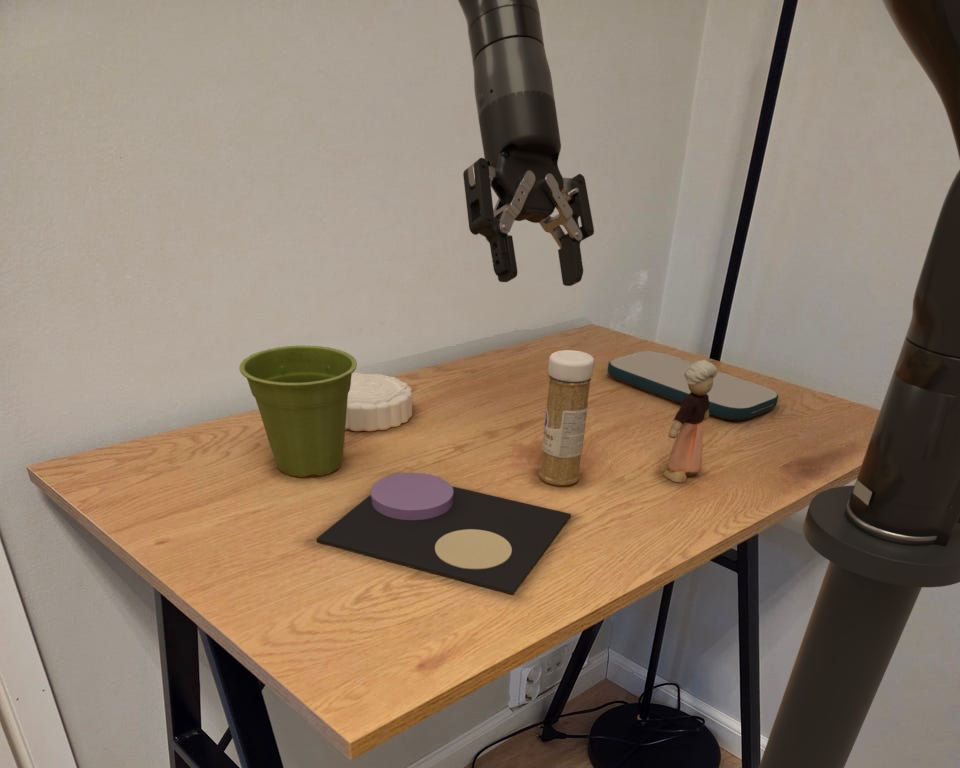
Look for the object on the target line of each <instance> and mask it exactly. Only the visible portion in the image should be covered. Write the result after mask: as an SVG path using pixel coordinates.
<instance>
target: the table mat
mask: <svg viewBox="0 0 960 768" xmlns="http://www.w3.org/2000/svg"><path fill="white" fill-rule="evenodd" d="M451 486H452V485H451ZM452 488H453V492H454V494H453V505H452V507H451V508H450V509H449V510H448V511H447V512H446V513H444V514H442V515H440V516H437V517H434V518H431V519H425V520H400V519H395V518H391V517H388V516H385V515H383V514H381V513H379V512H378V511H376V510H375V509H374V507H373V506H372V503H371V494H369V495H368V496H367V497H366V498H364V499H363V500H362V501H361V502H359V503H358V504H357V505H355V507H353V508H352V509H351V510H349V511H348V512H347V513H346V514H345V515H343V516H342V517H341V518H340V519H338V521H336V522H334V524H332V525H331V526H330V527H328V529H326V530H325V531H324V532H323V533H321V534H320V535H319V536H318V537H316V538H315V539H316V543H318V544H321V545H326V546H329V547H334V548H336V549H341V550H345V551H348V552H352V553H356V554H360V555H363V556H367V557H371V558H375V559H378V560H382V561H385V562H389V563H393V564H396V565H401V566H404V567H408V568H412V569H416V570H419V571H423V572H427V573H430V574H434V575H438V576H441V577H445V578H449V579H454V580H456V581H460V582H462V583H463V582H464V583H467V584H471V585H474V586H479V587H482V588H486V589H489V590H492V591H497V592H501V593H505V594H509V595H511V596H513V595H514V594H515V593H516V592H517V590H518V589H519V587H520V586H521V584H522V583H523V582H524V581H525V579H526V578H527V576H528V575H529V574H530V573H531V571H532V570H533V569H534V567H535V566H536V565H537V563H538V562H539V560H541V558H542V557H543V555H544V554H545V553H546V551H547V550H548V549H549V547H550V546H551V544H552V543H553V542H554V540H555V539H556V538H557V536H558V535H559V534H560V532H561V531H562V530H563V529H564V527H565V525H566V524H567V523H568V522H569V520H570V519H571V518H572V517H571V516H572V513H569V512H565V511H561V510H555V509H551V508H547V507H544V506H539V505H534V504H530V503H526V502H521V501H517V500H513V499H508V498H504V497H500V496H496V495H491V494H487V493H482V492H478V491H474V490H469V489H466V488H461V487H457V486H454V485H453V486H452Z"/></svg>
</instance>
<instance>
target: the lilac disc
mask: <svg viewBox="0 0 960 768" xmlns="http://www.w3.org/2000/svg"><path fill="white" fill-rule="evenodd" d="M453 494H454V492H453V488H452V484H450V482H449V481H447V480H446V479H445V478H442V477H440V476H437V475H433V474H429V473H422V472H400V473H399V472H398V473H395V474H390V475H387V476H383V477H382V478H380V479H378V480H377V481H375V482H374V483H373V484H372V486H371V488H370V495H371V503H372V506H373V507H374V509H375V510H376V511H378V512H379V513H381V514H383V515H385V516H388V517H391V518H395V519H400V520H425V519H431V518H434V517H437V516H440V515H442V514H444V513H446V512H447V511H448V510H449V509H450V508H451V507H452V505H453Z"/></svg>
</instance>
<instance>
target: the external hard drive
mask: <svg viewBox="0 0 960 768" xmlns="http://www.w3.org/2000/svg"><path fill="white" fill-rule="evenodd" d="M694 363H695V362H692V361H690V360H687V359H684V358H681V357H678V356H675V355H672V354H669V353H665V352H662V351H661V352H660V351H655V350H640V351H636V352H632V353H629V354H625V355H622V356H619V357H618V356H617V357H615V358H612V359H610V361H608V364H607V374H608V375H609V376H610V377H611V378H612V379H615V380H616V381H618V382H622V383H625V384H628V385H630V386H633V387H635V388H638V389H641V390H644V391H646V392H649V393H651V394H654V395H657V396H660V397H662V398H665V399H668V400H670V401H673V402H676V403H679V404H681V405H682V402H683V400H684V398H685V397H686V396H687V395H688V394H690V393H691V391H690V390H689V387H688V383H687V381H686V377H685V376H684V373H685V371H687V369H688V367H690V366H691V365H693V364H694ZM707 395H708V397H709V415H711V416H713V417H717V418H721V419H724V420H730V421H745V420H749V419H753V418H754V417H758V416H759V415H762V414H765V413H767V412H770V411H772V410H774V409H775V408H776V406H777V405H778V404H777V403H778V401H779V393H778V392H777V391H775V390H774V389H772V388H770V387H768V386H765V385H763V384H760V383H756V382H754V381H750V380H747V379H744V378H741V377H739V376H736V375H733V374H730V373H726V372H723V371H720V370H717V375H716V376H715V378H713V386H712V389H711V390H710V391H709V392H708V393H707Z"/></svg>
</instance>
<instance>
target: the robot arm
mask: <svg viewBox="0 0 960 768" xmlns="http://www.w3.org/2000/svg"><path fill="white" fill-rule="evenodd" d="M457 1H458V4H459V7H460V9H461V11H462V13H463V15H464V18H465V21H466V25H467V36H468V42H469V43H468V44H469V49H470V55H471V61H472V70H473V91H474V98H475V99H474V100H475V104H476V111H477V112H476V113H477V117H478V118H477V119H478V125H479V131H480V132H479V133H480V137H481V138H480V139H481V143H482V144H481V145H482V150H483V151H482V152H483V157H480V158H478V159H477V160H476V161H475V162H474V163H472V164H471V165H470V166H468V167H467V168H466V169H464V171H463V172H462V173H463V174H462V176H463V185H464V194H465V202H466V212H467V221H468V228H469V231H470V233H471V234H472V235H474V236H477V235H480V236H483V237H485V240H486V242H488V243H489V248H490V249H489V250H490V254H491V259H492V261H491V262H492V267H493V272H494V273H495V276H497V280H498V282H499V283H508V282H510V281H512V280H514V279H515V278H517V276H518V265H517V259H516V252H515V246H514V239H513V235H509V233H510V232H511V230H512V227H513V225H514V223H515V221H516V222H521V221H527V222H529V223H534V224H539V225H540V226H541V228H542V230H543V231H544V232H545V233H549V234H550V235H551V236H552V238H553V240H554V241H555V243H556V244H557V246H558V247H559V249H557V254H558V260H559V267H560V274H561V275H560V276H561V280H562V281H561V282H562V285H563V286H564V287H572V286H574V285H575V284H577V283H580V282H581V281H582V278H583V275H584V266H583V259H582V251H581V242H582V241H585V240H586V239H587V238H590V237H592V236H593V235H594V233H595V227H594V222H593V217H592V211H591V205H590V201H589V199H590V198H589V194H588V187H587V183H586V179H585V176H584V175H583V174H581V173H578V174H577V175H575V176H573V177H563V175H562V173H561V171H560V168H559V165H558V162H559V157H560V153H561V149H562V142H561V135H560V129H559V128H560V127H559V122H558V113H557V107H556V101H555V93H554V87H553V86H554V85H553V80H552V79H553V78H552V73H551V69H550V65H549V62H548V58H547V53H546V49H545V42H544V35H543V29H542V22H541V21H542V20H541V14H540V8H539V4H538V0H457ZM882 3H883V5H884V7H885V10H886V11H887V14H888V15H889V17H890V19H891V20H892V22H893V24H894V26H895V28H896V30H897V31H898V33H899V34H900V36H901V38H902V39H903V41H904V42H905V44H906V45H907V47H908V49H909V51H910V52H911V54H912V56H913V57H914V58H915V60H916V61H917V62H918V65H920V67H921V68H922V70H923V71H924V73H925V74H926V76H927V77H928V79H929V81H931V84H932V85H933V87H934V89H935V90H936V91H935V92H937V95H938V97H939V98H940V100H941V103H942V105H943V107H944V111H945V113H946V115H947V118H948V122H949V124H950V128H951V131H952V135H953V139H954V142H955V143H954V144H955V146H956V150H957V154H958V158H959V160H960V0H882ZM492 191H493V192H494V193H495V195H496V196H497V198H498V199H497V201H496V204H495V206H494V205H493V204H494V203H493V196H492V195H493V194H492ZM555 209H556V210H557V212H558V214H556V215H554V216H551V215H553V213H554V211H555ZM579 219H580V223H579ZM935 223H936V224H935V227H934V228H933V229H934V230H933V232H932V235H931V239H930V242H929V245H928V248H927V251H926V255H925V258H924V261H923V264H922V266H921V267H922V268H921V271H920V274H919V277H918V281H917V283H916V287H915V291H914V294H913V299H912V315H911V319H910V322H909V325H908V328H907V332H906V335H905V337H904V340H903V343H902V346H901V348H900V351H899V354H898V358H897V360H896V363H895V366H894V369H893V372H892V375H891V378H890V381H889V384H888V386H887V389H886V393H885V395H884V398H883V401H882V404H881V407H880V409H879V410H880V411H879V412H878V416H877V418H876V422H875V425H874V427H873V430H872V433H871V436H870V439H869V443H868V446H867V448H866V451H865V454H864V457H863V459H862V463H861V466H860V468H859V471H858V473H857V474H858V475H857V478H856V481H855V482H854V483H855V484H854V485H855V486H854V485H853V486H854V489H853V490H852V493H851V496H850V499H849V501H848V503H847V506H846V509H845V515H846V518H847V519H848V521H849V522H850V523H851V524H852V525H854V526H855V527H856V528H858V529H859V530H861V531H863V532H865V533H867V534H869V535H871V536H873V537H876V538H879V539H882V540H885V541H889V542H893V543H898V544H904V545H914V546H923V545H933V544H934V545H940V546H947V544H948V541H949V539H950V537H951V534H952V532H953V530H954V528H955V525H956V523H959V524H960V169H959V170H958V171H957V173H956V174H955V176H954V178H953V179H952V182H951V184H950V186H949V188H948V190H947V192H946V195H945V197H944V200H943V204H942V205H941V208H940V211H939V214H938V217H937V220H936V222H935ZM580 224H581V225H580ZM561 226H562V227H563V228H564V229H565V231H566V232H567V233H565V232H564V229H563V228H562V227H561Z"/></svg>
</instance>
